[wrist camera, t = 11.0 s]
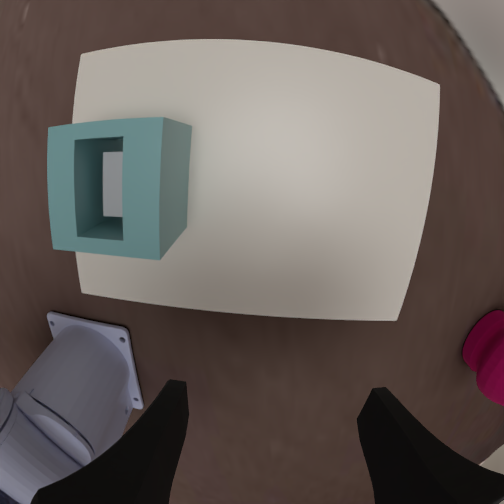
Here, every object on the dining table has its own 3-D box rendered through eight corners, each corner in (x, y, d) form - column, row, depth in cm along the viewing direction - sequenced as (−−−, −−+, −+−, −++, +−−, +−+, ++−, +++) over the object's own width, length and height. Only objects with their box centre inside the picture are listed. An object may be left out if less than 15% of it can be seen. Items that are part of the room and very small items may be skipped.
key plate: (390, 311, 19) (416, 349, 15) (89, 285, 19) (56, 317, 15) (430, 87, 14) (472, 77, 9) (90, 58, 13) (50, 41, 9)
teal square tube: (186, 227, 16) (159, 260, 11) (100, 221, 16) (53, 248, 11) (192, 125, 14) (163, 116, 9) (100, 128, 14) (48, 127, 9)
